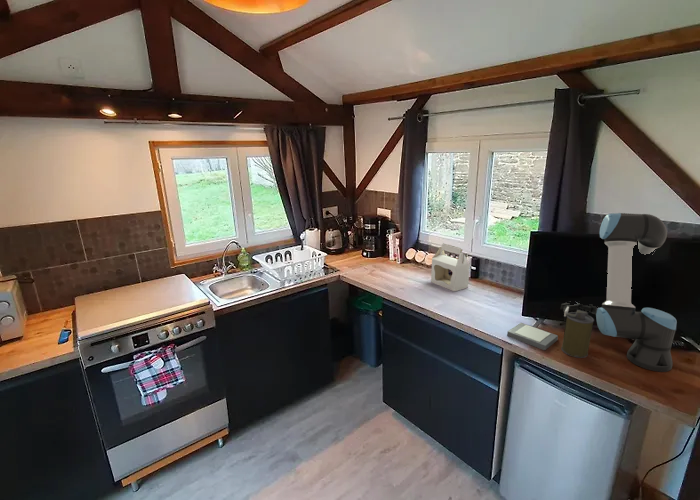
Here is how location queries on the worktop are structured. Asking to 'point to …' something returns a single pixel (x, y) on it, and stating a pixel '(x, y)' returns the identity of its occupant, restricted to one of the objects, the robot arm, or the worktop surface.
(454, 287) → the gable box
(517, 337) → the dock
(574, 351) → the canister
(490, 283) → the worktop surface
